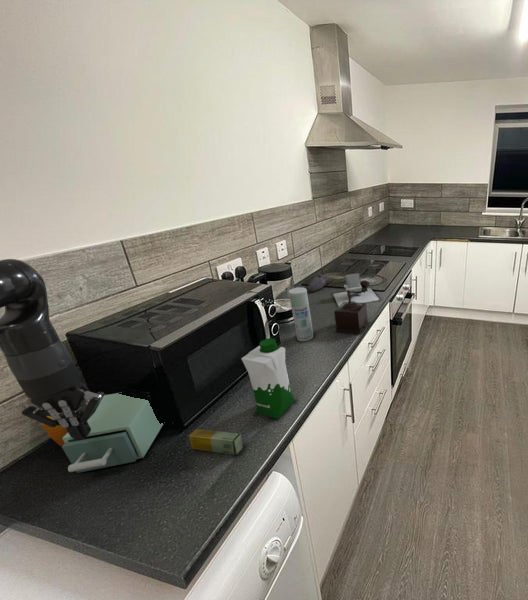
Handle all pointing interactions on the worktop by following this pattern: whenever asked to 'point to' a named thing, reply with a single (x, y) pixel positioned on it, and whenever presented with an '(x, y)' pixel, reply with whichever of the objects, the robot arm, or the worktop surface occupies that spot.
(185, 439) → the worktop surface
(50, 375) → the robot arm
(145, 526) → the worktop surface
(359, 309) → the manual coffee grinder
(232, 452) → the medication box
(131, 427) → the green drawer housing
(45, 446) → the worktop surface
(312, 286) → the perforated stone tool
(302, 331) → the spray can
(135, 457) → the green drawer
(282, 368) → the milk carton
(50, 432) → the carrot
